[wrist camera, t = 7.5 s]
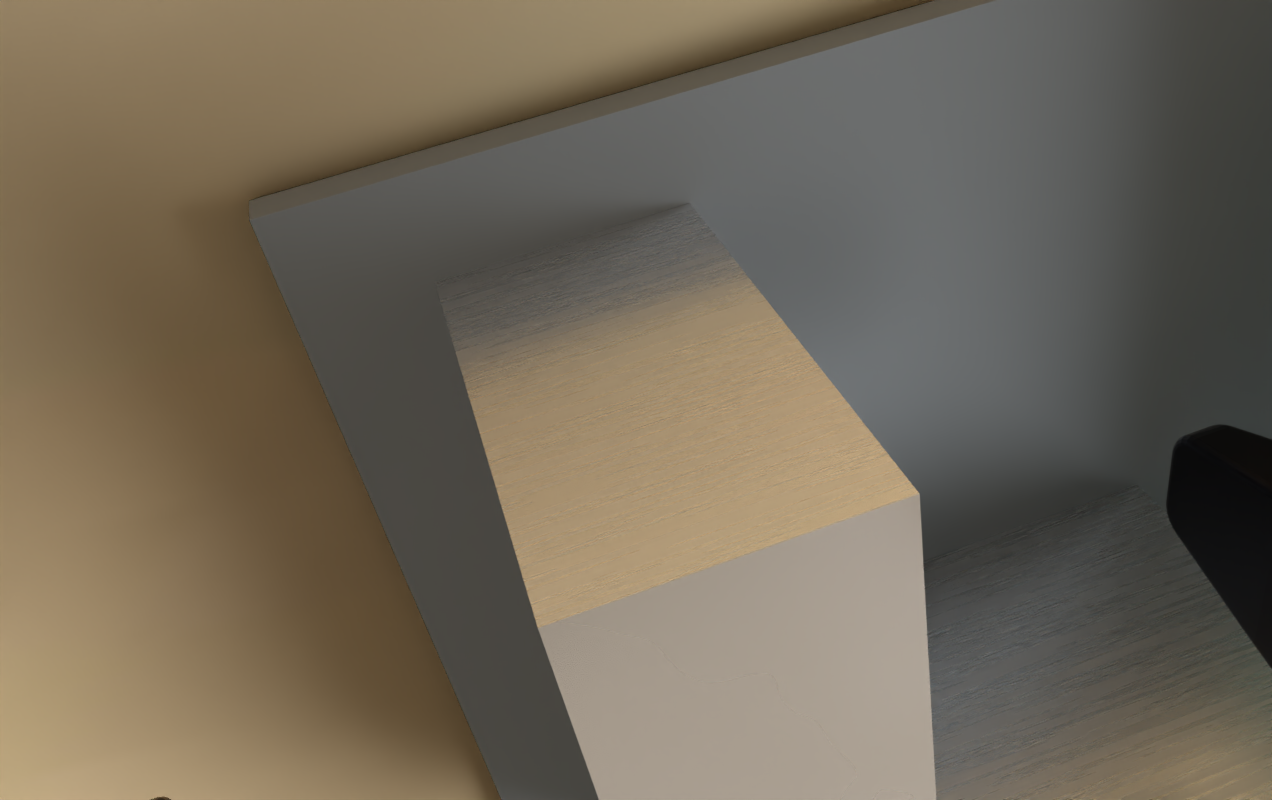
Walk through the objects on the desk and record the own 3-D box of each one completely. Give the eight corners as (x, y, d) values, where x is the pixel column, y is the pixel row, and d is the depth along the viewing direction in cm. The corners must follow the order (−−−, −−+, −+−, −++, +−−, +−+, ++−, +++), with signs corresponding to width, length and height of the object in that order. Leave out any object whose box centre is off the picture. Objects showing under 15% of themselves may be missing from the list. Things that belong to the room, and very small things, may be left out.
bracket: (434, 282, 10) (536, 627, 7) (1178, 50, 11) (1621, 246, 7) (614, 804, 15) (730, 1167, 11) (1124, 614, 16) (1379, 897, 12)
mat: (249, 200, 10) (248, 219, 9) (1360, -124, 11) (1393, -117, 11) (550, 901, 16) (556, 926, 16) (1220, 647, 18) (1238, 666, 17)
